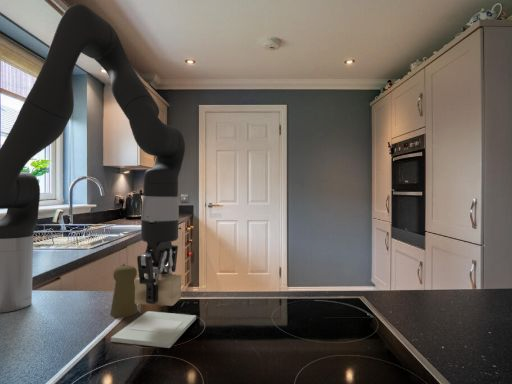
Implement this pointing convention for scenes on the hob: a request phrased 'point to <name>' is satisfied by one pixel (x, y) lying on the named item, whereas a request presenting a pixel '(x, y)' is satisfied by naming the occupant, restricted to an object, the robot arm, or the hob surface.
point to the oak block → (161, 290)
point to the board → (155, 329)
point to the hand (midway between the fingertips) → (158, 298)
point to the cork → (124, 292)
